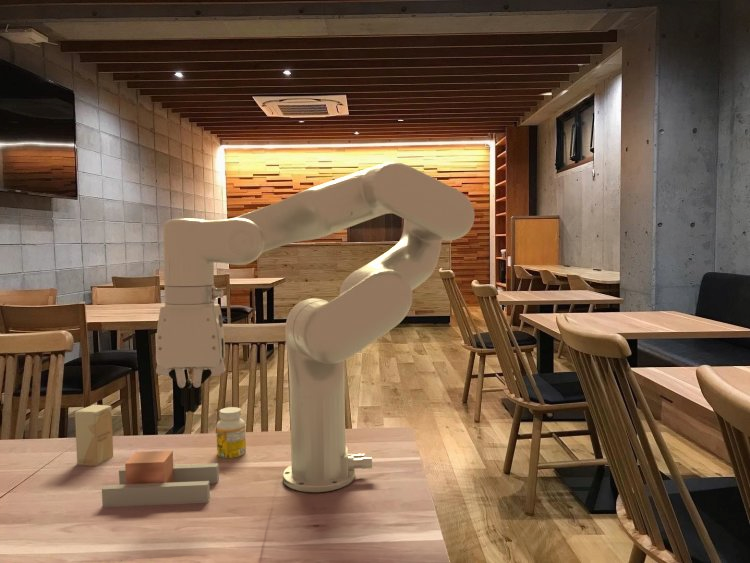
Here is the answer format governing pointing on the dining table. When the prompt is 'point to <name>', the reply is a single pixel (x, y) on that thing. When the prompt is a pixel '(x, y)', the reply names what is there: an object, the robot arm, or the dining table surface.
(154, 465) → the block
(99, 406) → the box
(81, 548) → the dining table surface
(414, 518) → the dining table surface
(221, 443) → the supplement bottle
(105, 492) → the chute
